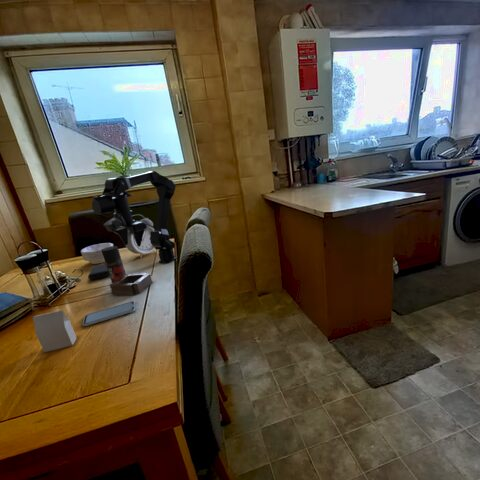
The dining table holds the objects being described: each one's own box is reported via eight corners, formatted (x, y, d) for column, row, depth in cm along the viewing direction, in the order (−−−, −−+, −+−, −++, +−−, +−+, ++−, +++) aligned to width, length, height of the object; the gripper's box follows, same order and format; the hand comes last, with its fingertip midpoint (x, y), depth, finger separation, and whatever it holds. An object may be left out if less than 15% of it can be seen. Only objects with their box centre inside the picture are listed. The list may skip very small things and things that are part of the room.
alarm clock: (136, 260, 143) (124, 218, 135) (127, 259, 147) (115, 218, 140) (162, 250, 155) (153, 211, 148) (153, 249, 160) (143, 211, 152)
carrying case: (115, 276, 124) (117, 266, 137) (113, 269, 123) (115, 260, 136) (88, 282, 121) (93, 271, 134) (86, 275, 120) (91, 265, 133)
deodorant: (109, 285, 114) (98, 251, 109) (116, 280, 120) (105, 247, 114) (124, 284, 114) (113, 249, 109) (129, 278, 120) (119, 245, 114)
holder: (128, 282, 115) (125, 273, 114) (153, 281, 113) (151, 272, 112) (110, 295, 105) (107, 286, 103) (138, 294, 103) (135, 285, 101)
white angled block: (72, 345, 76) (59, 313, 73) (44, 352, 74) (29, 320, 71) (76, 337, 79) (64, 307, 76) (50, 344, 78) (35, 313, 74)
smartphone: (85, 314, 90) (134, 300, 96) (85, 317, 91) (134, 302, 96) (82, 325, 84) (134, 309, 90) (83, 327, 84) (135, 311, 90)
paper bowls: (107, 264, 142) (102, 250, 139) (79, 267, 143) (73, 253, 140) (122, 254, 156) (118, 241, 153) (96, 257, 157) (91, 244, 154)
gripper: (91, 213, 113) (102, 249, 119) (117, 213, 103) (128, 253, 109) (116, 208, 122) (126, 242, 127) (142, 207, 112) (152, 244, 117)
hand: (132, 245), depth 120 cm, fingers open, 9 cm apart
